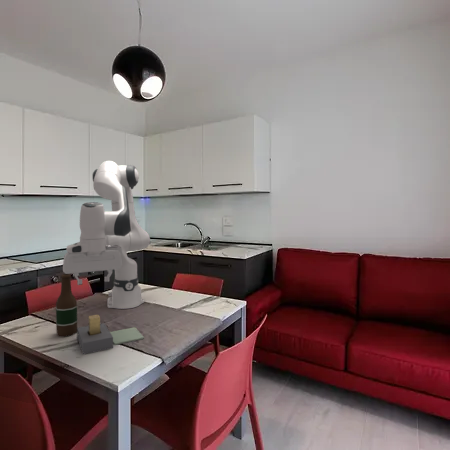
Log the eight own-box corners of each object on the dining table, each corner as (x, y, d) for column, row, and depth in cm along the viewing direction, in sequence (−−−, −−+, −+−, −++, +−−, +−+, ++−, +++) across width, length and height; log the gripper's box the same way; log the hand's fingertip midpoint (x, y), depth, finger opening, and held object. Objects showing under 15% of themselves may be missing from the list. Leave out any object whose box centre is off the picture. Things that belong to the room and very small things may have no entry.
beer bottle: (63, 338, 121) (62, 277, 120) (52, 334, 126) (50, 275, 124) (81, 332, 128) (80, 273, 127) (70, 328, 132) (69, 271, 131)
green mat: (107, 333, 126) (107, 332, 126) (135, 328, 132) (135, 327, 132) (114, 345, 116) (114, 343, 116) (143, 338, 122) (143, 337, 122)
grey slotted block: (77, 337, 122) (77, 327, 122) (104, 332, 128) (104, 323, 127) (83, 354, 109) (82, 343, 109) (113, 347, 114) (112, 337, 114)
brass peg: (88, 342, 119) (88, 316, 118) (98, 340, 121) (98, 314, 120) (90, 345, 116) (89, 318, 115) (100, 343, 118) (100, 317, 117)
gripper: (119, 243, 124) (120, 278, 125) (61, 246, 114) (62, 284, 114) (123, 245, 119) (124, 281, 120) (63, 248, 108) (64, 288, 109)
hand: (93, 283), depth 117 cm, fingers open, 8 cm apart
